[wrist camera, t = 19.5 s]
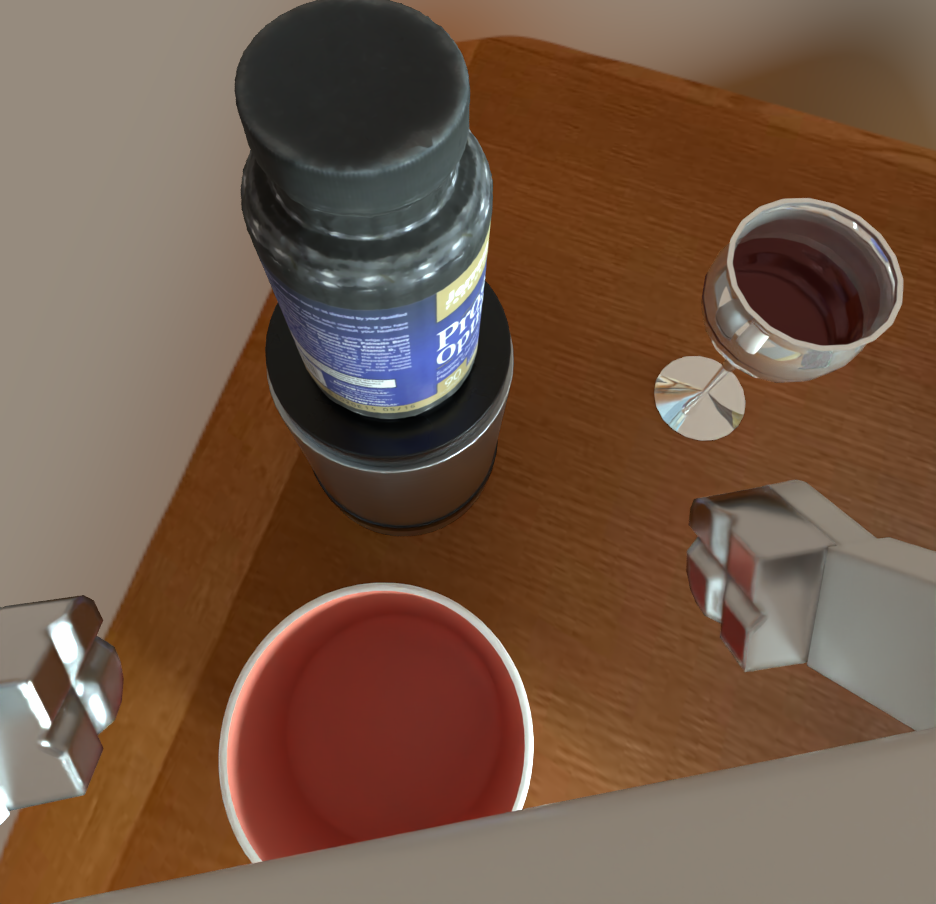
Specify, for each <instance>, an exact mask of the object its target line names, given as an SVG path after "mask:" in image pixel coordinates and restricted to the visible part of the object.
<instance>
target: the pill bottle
mask: <svg viewBox="0 0 936 904" xmlns="http://www.w3.org/2000/svg"><path fill="white" fill-rule="evenodd" d="M235 96H236V105H237V109H238V113H239V116H240V119H241V122H242V124H243V127H244V131H245V134H246V138H247V141H248V145H249V147H250V149H251V150H250V154H249V156H248V159H247V160H246V164H245V166H244V169H243V177H242V184H241V199H242V202H241V205H242V211H243V215H244V220H245V223H246V226H247V231H248V232H249V234H250V237H251V239H252V242H253V245H254V247H255V249H256V251H257V254H258V256H259V259H260V261H261V263H262V265H263V268H264V270H265V272H266V275H267V277H268V279H269V282H270V284H271V287H272V289H273V291H274V294H275V296H276V298H277V301H278V303H279V306H280V308H281V310H282V313H283V315H284V317H285V320H286V322H287V324H288V327H289V329H290V332H291V334H292V336H293V339H294V341H295V343H296V346H297V348H298V350H299V352H300V355H301V357H302V360H303V362H304V364H305V367H306V369H307V370H308V372H309V374H310V375H311V377H312V378H313V380H314V381H315V382H316V384H317V385H318V386H319V388H320V389H321V390H322V391H323V392H324V394H325V395H326V396H327V397H328V398H329V399H331V400H332V401H334V402H335V403H337V404H340V405H341V406H343V407H345V408H347V409H349V410H351V411H352V412H355V413H358V414H361V415H364V416H368V417H375V418H380V419H398V418H405V417H410V416H416V415H418V414H421V413H423V412H425V411H427V410H430V409H432V408H434V407H435V406H437V405H439V404H440V403H442V402H443V401H444V400H446V399H447V398H449V397H450V396H451V395H453V394H454V393H455V392H456V391H457V390H458V389H459V388H460V387H461V385H462V383H463V382H464V381H465V379H466V377H467V376H468V374H469V373H470V371H471V368H472V365H473V363H474V360H475V357H476V353H477V348H478V337H479V329H480V320H481V311H482V301H483V292H484V283H485V272H486V261H487V253H488V243H489V234H490V224H491V216H492V201H493V194H492V192H493V180H492V178H491V176H492V174H491V172H490V169H489V164H488V161H487V159H486V157H485V154H484V152H483V150H482V148H481V146H480V144H479V143H478V141H477V139H476V138H475V136H474V135H473V134H472V133H471V131H470V130H469V103H470V85H469V75H468V70H467V67H466V64H465V61H464V58H463V55H462V53H461V52H460V50H459V48H458V47H457V45H456V43H455V42H454V40H452V39H451V38H450V36H449V34H448V33H447V32H446V31H445V30H444V29H443V28H442V27H441V26H439V25H437V24H435V23H434V22H433V21H432V20H431V19H430V18H429V17H428V16H425V15H423V14H422V13H421V12H419V11H417V10H415V9H413V8H411V7H408V6H405V5H403V4H402V3H397V2H393V1H390V0H316V1H313V2H309V3H306V4H303V5H301V6H298V7H296V8H294V9H292V10H290V11H288V12H286V13H284V14H282V15H280V16H278V17H277V18H276V19H275V20H273V21H271V23H269V24H267V25H266V26H265V27H264V28H263V29H262V30H261V31H260V32H259V33H258V34H257V35H256V36H255V37H254V38H253V40H252V41H251V43H250V44H249V45H248V47H247V48H246V50H245V51H244V52H243V55H242V57H241V59H240V62H239V65H238V67H237V71H236V77H235Z"/></svg>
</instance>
